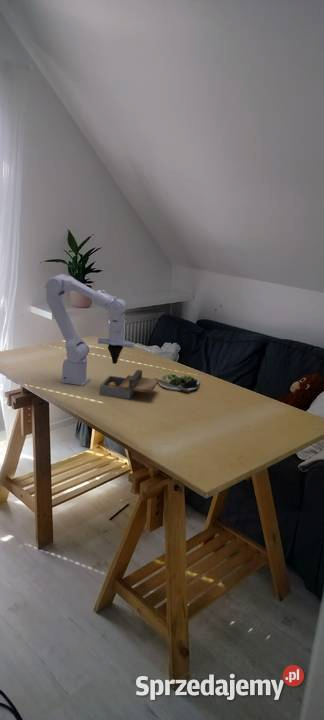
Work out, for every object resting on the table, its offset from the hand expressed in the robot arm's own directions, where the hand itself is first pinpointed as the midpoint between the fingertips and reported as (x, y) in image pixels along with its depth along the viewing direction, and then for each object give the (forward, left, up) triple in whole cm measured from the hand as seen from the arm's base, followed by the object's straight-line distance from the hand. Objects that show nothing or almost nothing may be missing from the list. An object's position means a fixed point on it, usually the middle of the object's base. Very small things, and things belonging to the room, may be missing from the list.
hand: (114, 362), depth 204 cm
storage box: (+3, -4, -10) cm, 12 cm away
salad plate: (+25, +13, -11) cm, 30 cm away
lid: (+11, -4, -6) cm, 14 cm away
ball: (0, -4, -8) cm, 9 cm away
